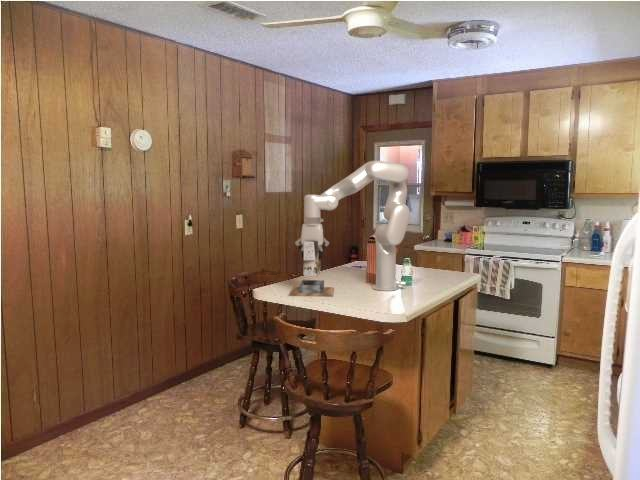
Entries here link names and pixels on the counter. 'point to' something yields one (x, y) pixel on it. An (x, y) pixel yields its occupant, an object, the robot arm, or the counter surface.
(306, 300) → the counter surface
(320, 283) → the dock
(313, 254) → the coffee box
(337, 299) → the counter surface
